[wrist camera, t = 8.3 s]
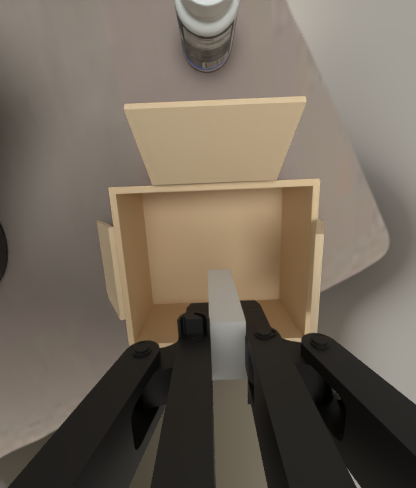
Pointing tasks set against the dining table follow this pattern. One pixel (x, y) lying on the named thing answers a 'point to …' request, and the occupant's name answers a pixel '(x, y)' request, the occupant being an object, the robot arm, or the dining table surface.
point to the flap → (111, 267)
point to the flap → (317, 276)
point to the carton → (215, 250)
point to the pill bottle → (206, 31)
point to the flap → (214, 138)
